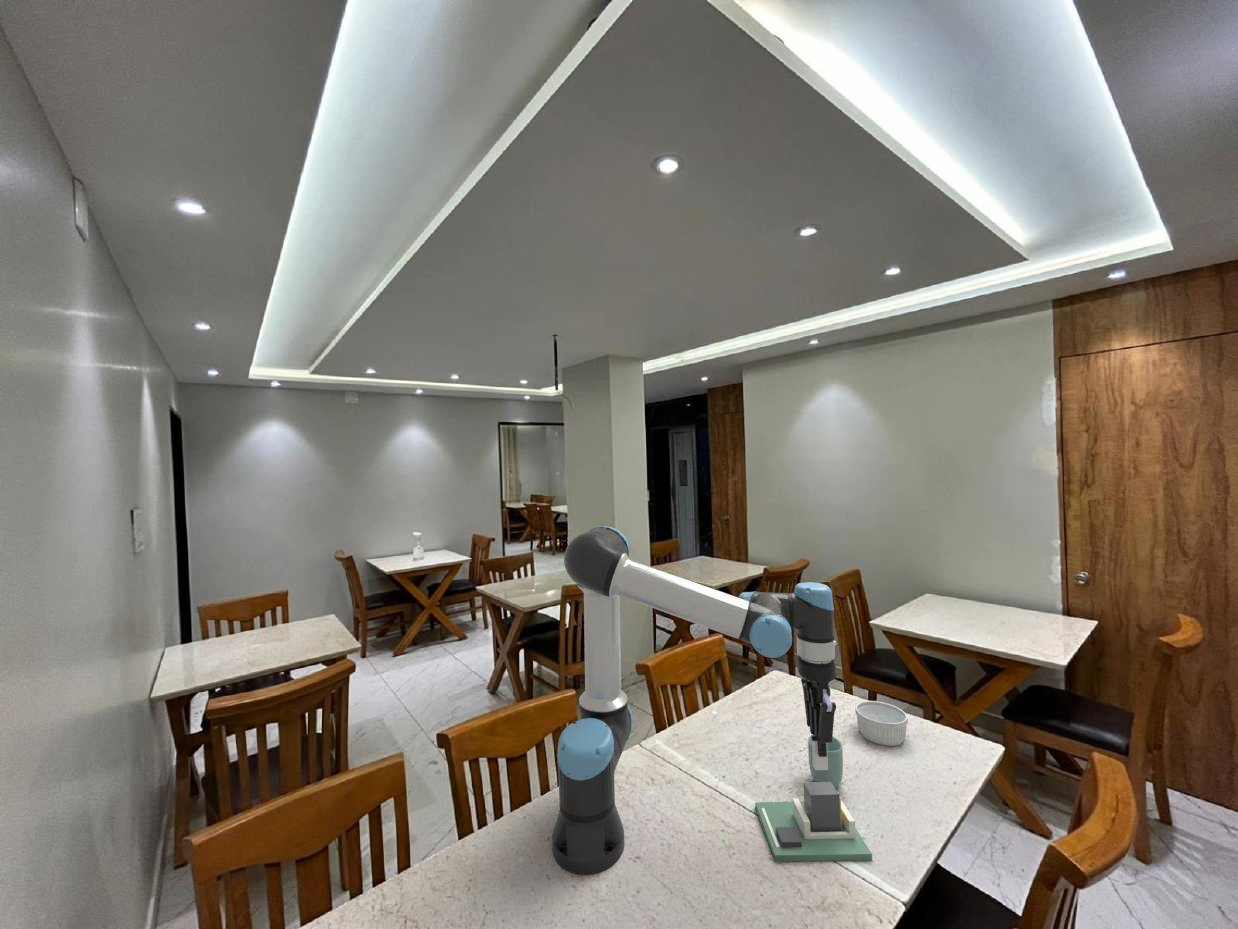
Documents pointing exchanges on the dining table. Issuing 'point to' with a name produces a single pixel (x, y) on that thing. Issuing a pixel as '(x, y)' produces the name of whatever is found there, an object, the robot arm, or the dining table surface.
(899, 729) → the ramekin
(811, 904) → the dining table surface
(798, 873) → the dining table surface
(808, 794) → the plug
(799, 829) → the board
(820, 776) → the cup
